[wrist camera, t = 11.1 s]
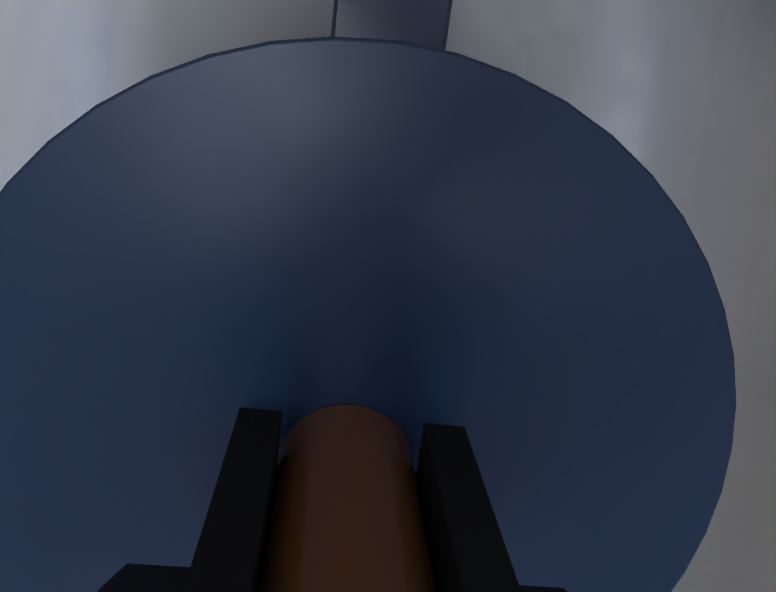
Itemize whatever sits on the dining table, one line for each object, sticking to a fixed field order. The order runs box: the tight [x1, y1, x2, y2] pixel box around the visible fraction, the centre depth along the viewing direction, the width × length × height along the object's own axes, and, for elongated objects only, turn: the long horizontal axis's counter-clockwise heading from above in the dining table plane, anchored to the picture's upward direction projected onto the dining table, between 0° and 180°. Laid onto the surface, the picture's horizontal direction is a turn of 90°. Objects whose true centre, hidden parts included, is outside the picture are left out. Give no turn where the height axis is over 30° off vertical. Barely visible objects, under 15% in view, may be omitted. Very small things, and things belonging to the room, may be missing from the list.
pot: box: [331, 0, 453, 51], centre depth 20 cm, size 15×20×10 cm
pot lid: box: [0, 36, 736, 592], centre depth 10 cm, size 16×16×9 cm
